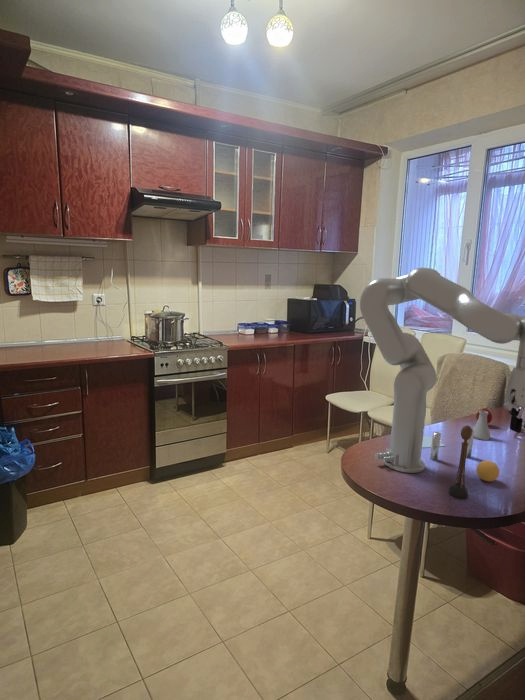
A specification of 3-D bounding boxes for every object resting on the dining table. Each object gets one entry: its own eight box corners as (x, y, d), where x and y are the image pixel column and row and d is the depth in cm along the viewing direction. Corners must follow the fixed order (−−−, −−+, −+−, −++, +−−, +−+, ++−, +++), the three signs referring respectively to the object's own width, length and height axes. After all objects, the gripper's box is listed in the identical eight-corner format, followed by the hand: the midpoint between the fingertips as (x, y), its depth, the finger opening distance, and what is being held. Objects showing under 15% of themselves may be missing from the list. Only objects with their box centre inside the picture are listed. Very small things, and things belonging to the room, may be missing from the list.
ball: (485, 485, 128) (488, 466, 127) (470, 476, 133) (473, 457, 132) (502, 484, 129) (505, 465, 128) (487, 474, 135) (489, 456, 134)
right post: (466, 458, 147) (469, 432, 145) (461, 455, 149) (464, 429, 148) (472, 457, 148) (476, 432, 146) (467, 454, 150) (470, 429, 148)
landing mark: (421, 448, 154) (421, 447, 154) (404, 437, 163) (404, 436, 163) (445, 446, 156) (445, 445, 156) (428, 435, 166) (428, 435, 166)
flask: (491, 436, 169) (495, 411, 167) (489, 442, 163) (493, 416, 161) (471, 432, 172) (474, 407, 171) (468, 437, 166) (471, 412, 165)
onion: (492, 428, 177) (495, 409, 176) (477, 427, 179) (480, 408, 177) (488, 423, 183) (491, 405, 182) (473, 422, 184) (476, 403, 183)
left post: (432, 460, 143) (436, 434, 142) (428, 457, 146) (431, 432, 144) (439, 460, 144) (442, 434, 142) (434, 457, 146) (437, 431, 145)
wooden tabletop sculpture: (454, 487, 126) (463, 420, 122) (471, 494, 123) (481, 425, 119) (446, 494, 121) (455, 425, 118) (463, 501, 118) (473, 430, 115)
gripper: (545, 360, 122) (535, 424, 125) (495, 361, 117) (486, 427, 120) (571, 367, 114) (559, 434, 118) (518, 367, 110) (507, 437, 113)
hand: (522, 429), depth 119 cm, fingers open, 4 cm apart
